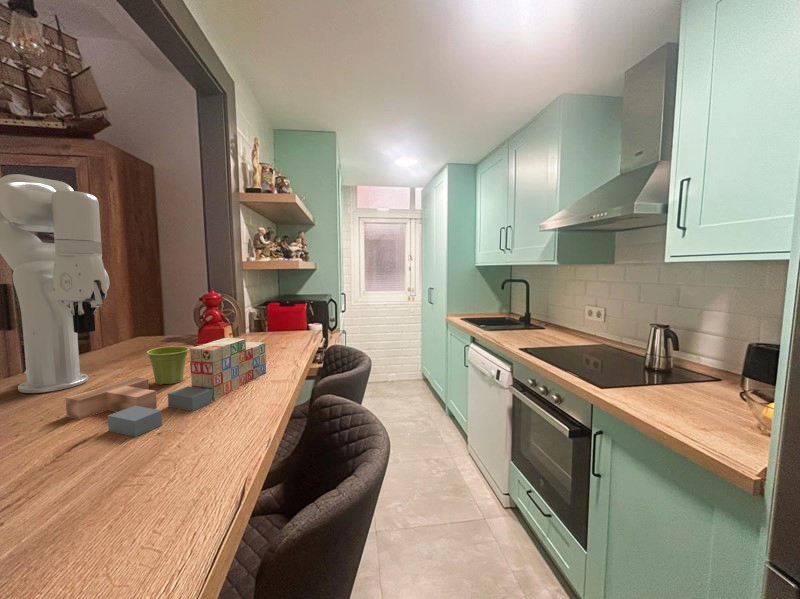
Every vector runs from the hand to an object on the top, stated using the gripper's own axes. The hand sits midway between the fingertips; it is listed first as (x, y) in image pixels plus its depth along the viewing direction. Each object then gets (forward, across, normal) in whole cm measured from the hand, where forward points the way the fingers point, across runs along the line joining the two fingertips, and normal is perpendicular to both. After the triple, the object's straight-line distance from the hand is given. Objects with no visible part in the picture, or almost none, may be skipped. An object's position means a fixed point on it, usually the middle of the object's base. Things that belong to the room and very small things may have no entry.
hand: (84, 331), depth 76 cm
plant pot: (+16, +4, +16) cm, 23 cm away
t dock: (+16, +23, 0) cm, 28 cm away
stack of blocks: (+17, +21, +20) cm, 34 cm away
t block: (+16, +11, 0) cm, 20 cm away
